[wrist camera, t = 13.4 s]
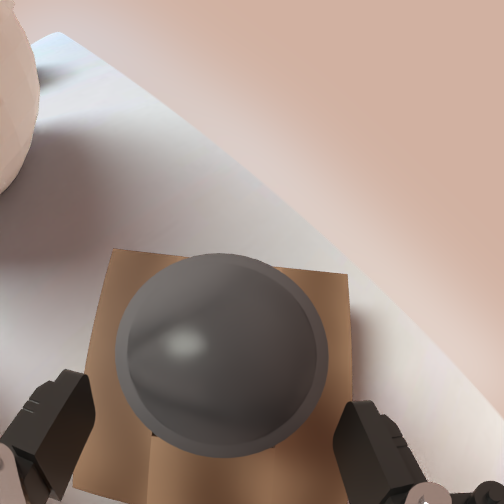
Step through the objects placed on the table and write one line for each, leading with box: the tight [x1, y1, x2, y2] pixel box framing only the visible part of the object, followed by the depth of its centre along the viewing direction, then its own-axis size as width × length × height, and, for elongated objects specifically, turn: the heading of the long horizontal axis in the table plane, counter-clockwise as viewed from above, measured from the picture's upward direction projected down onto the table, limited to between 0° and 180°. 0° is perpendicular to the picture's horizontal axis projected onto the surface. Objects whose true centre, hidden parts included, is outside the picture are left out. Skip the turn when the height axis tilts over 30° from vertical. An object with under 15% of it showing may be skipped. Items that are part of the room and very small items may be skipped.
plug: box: [115, 253, 329, 458], centre depth 13 cm, size 5×5×13 cm
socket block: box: [73, 248, 352, 504], centre depth 17 cm, size 14×14×4 cm
